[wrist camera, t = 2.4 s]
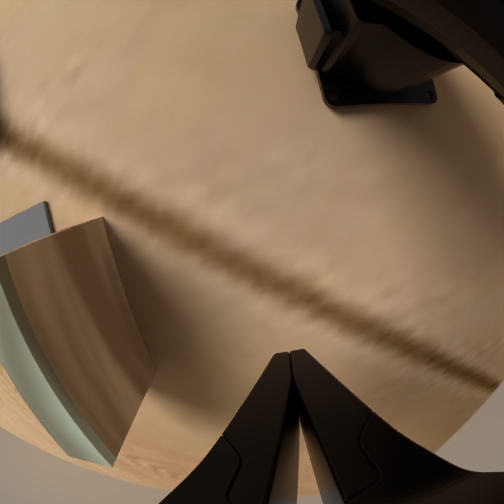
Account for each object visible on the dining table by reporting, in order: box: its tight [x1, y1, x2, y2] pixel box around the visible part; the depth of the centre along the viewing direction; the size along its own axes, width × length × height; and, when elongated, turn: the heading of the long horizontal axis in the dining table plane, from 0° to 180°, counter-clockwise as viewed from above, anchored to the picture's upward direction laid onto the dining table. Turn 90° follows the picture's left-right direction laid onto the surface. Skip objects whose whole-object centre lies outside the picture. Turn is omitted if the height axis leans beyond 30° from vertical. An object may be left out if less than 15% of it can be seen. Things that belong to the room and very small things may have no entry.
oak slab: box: [0, 217, 157, 467], centre depth 11 cm, size 3×10×8 cm, turn 11°
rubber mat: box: [0, 201, 54, 255], centre depth 16 cm, size 10×14×1 cm
